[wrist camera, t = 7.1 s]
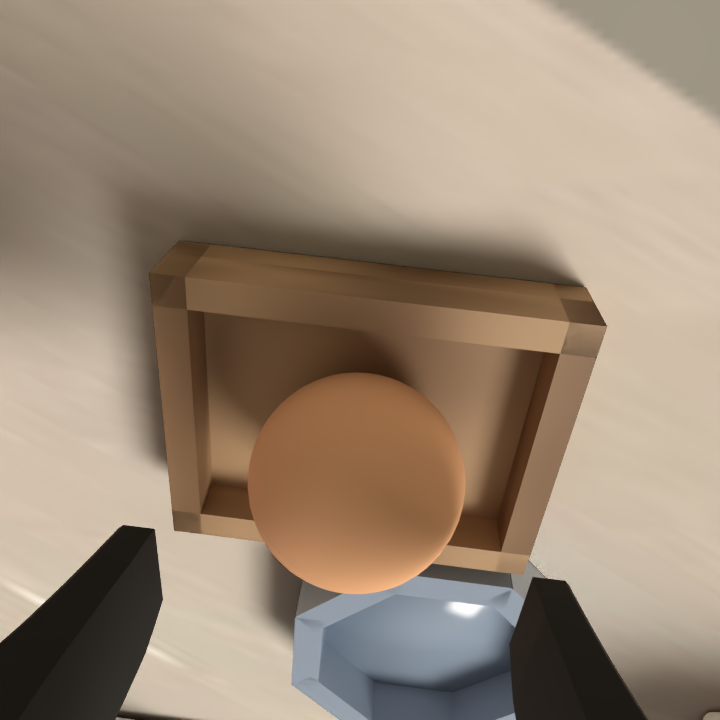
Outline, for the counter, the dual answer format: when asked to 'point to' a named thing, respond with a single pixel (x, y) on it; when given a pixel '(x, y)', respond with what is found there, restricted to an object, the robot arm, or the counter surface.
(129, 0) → the counter surface
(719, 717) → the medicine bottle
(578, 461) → the counter surface
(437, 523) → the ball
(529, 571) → the ramekin
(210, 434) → the tray
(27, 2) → the counter surface
